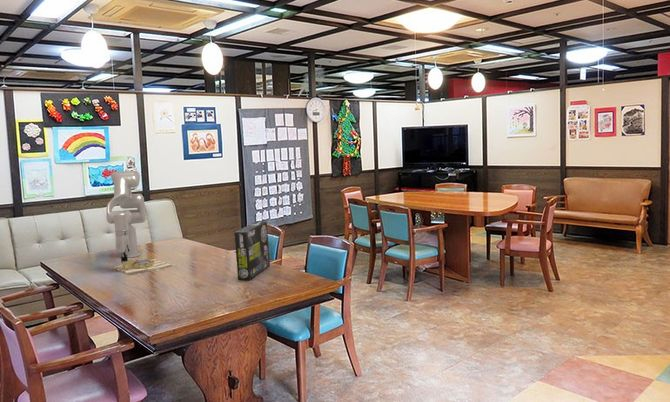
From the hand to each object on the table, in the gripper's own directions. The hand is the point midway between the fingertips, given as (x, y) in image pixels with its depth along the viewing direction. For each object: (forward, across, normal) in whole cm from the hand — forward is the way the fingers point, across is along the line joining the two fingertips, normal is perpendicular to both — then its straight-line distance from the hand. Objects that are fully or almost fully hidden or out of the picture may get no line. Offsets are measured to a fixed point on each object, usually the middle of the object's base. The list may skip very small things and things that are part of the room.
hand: (124, 263), depth 317 cm
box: (+4, +71, +43) cm, 83 cm away
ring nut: (+3, +2, +7) cm, 8 cm away
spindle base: (+4, +2, +10) cm, 11 cm away
